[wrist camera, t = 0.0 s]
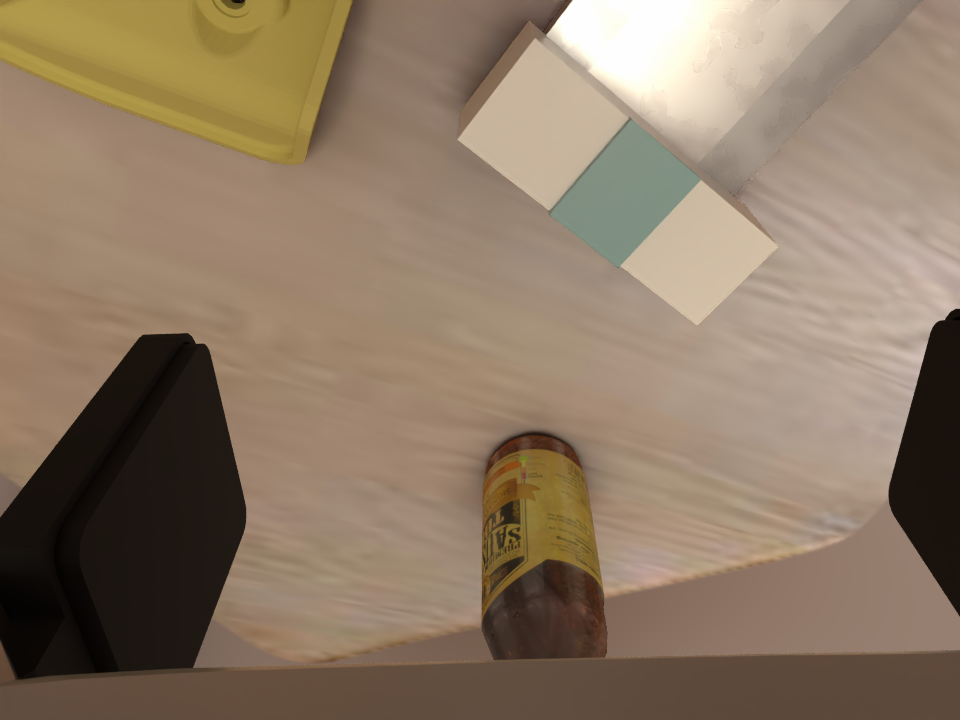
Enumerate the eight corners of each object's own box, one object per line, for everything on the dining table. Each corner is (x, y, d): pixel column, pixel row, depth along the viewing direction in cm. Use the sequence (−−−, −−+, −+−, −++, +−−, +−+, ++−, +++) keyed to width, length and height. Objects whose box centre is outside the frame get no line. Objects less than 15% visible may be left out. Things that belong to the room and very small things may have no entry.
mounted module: (529, 19, 36) (536, 38, 31) (748, 207, 40) (782, 248, 36) (459, 112, 38) (456, 142, 33) (674, 281, 42) (697, 329, 38)
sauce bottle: (495, 420, 48) (501, 712, 31) (596, 439, 49) (656, 736, 32) (471, 503, 52) (465, 810, 34) (566, 520, 52) (607, 830, 35)
